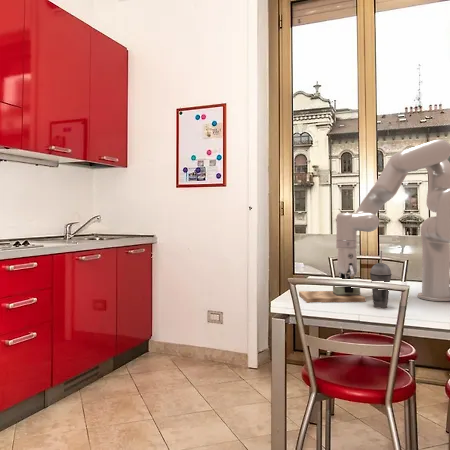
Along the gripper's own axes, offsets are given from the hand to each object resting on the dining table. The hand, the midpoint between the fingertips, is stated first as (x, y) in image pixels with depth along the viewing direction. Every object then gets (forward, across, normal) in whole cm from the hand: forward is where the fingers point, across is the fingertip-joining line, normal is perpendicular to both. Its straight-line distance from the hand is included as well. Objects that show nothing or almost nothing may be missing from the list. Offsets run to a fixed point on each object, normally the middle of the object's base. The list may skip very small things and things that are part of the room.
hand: (346, 290), depth 164 cm
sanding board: (+3, 0, +6) cm, 7 cm away
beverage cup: (+3, -15, -7) cm, 17 cm away
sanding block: (+2, 0, 0) cm, 2 cm away
